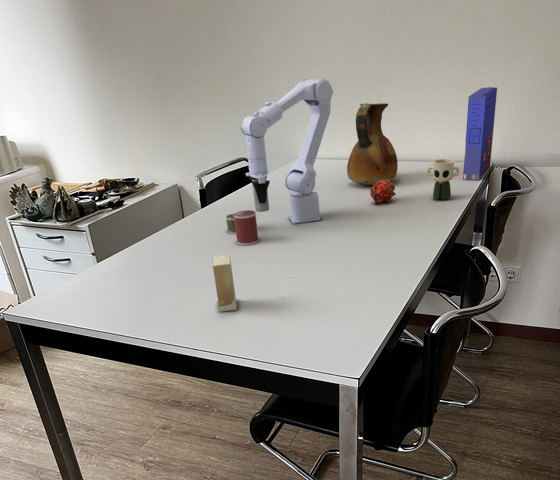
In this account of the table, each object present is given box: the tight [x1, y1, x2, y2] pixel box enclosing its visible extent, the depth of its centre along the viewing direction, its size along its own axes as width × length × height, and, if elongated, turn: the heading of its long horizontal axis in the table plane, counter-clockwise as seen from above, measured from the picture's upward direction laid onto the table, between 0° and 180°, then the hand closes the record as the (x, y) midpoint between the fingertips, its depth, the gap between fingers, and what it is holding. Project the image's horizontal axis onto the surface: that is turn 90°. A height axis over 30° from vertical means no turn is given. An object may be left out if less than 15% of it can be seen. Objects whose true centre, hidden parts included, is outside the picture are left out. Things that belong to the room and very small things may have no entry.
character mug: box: [426, 158, 460, 200], centre depth 208 cm, size 11×7×13 cm, turn 66°
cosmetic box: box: [211, 254, 238, 313], centre depth 145 cm, size 6×4×12 cm
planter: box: [252, 177, 270, 213], centre depth 191 cm, size 4×4×10 cm
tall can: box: [234, 209, 260, 246], centre depth 187 cm, size 7×7×9 cm
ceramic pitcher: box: [346, 102, 399, 186], centre depth 230 cm, size 20×20×30 cm
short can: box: [225, 212, 236, 235], centre depth 199 cm, size 7×7×5 cm
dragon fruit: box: [369, 179, 396, 205], centre depth 212 cm, size 8×8×12 cm
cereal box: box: [462, 86, 498, 181], centre depth 229 cm, size 22×6×30 cm, turn 152°
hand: (261, 201), depth 193 cm, fingers closed on planter, 4 cm apart
